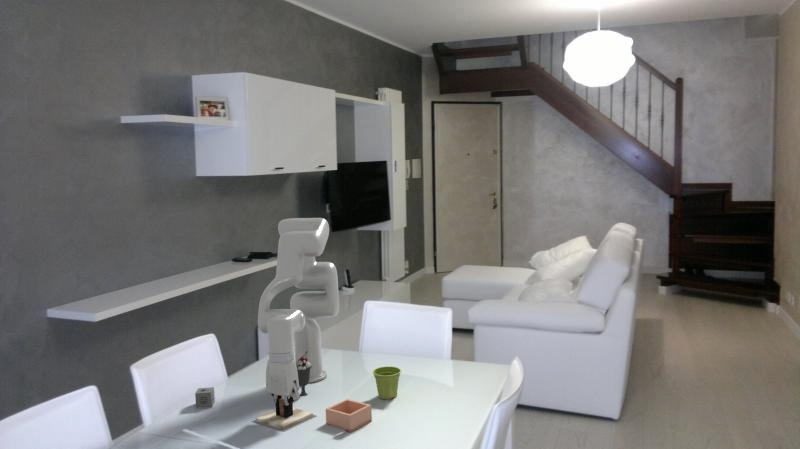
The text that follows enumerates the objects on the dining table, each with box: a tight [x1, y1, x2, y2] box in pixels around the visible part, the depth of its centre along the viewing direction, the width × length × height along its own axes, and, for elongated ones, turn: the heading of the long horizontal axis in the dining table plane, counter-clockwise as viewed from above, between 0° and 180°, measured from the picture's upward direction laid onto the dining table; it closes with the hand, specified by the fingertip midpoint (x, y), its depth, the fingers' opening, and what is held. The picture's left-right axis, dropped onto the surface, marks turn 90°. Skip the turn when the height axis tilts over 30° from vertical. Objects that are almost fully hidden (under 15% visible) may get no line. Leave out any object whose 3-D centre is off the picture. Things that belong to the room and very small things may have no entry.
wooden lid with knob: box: [255, 397, 314, 430], centre depth 198 cm, size 12×12×6 cm
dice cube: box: [194, 386, 216, 409], centre depth 213 cm, size 5×5×5 cm
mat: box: [251, 414, 318, 433], centre depth 198 cm, size 14×14×1 cm
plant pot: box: [372, 365, 402, 400], centre depth 216 cm, size 9×9×9 cm
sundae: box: [295, 352, 312, 397], centre depth 218 cm, size 7×7×15 cm
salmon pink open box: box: [325, 398, 373, 433], centre depth 194 cm, size 10×10×5 cm
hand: (284, 414), depth 198 cm, fingers closed on wooden lid with knob, 2 cm apart
